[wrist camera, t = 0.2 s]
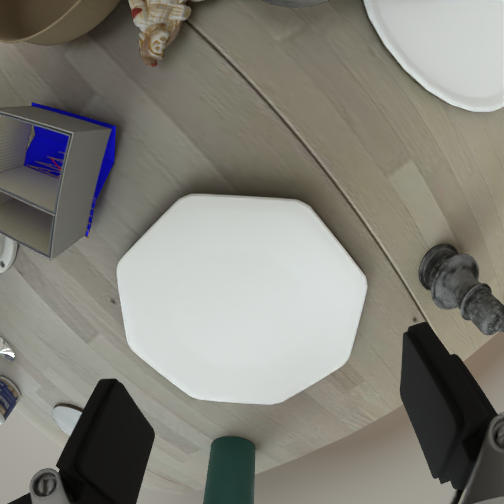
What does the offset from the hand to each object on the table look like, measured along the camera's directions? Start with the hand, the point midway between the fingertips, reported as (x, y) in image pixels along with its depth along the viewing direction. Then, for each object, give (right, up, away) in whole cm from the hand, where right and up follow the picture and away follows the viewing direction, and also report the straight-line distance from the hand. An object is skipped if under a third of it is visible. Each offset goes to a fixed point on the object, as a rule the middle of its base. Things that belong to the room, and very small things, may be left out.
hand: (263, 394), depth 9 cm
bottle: (-3, -24, +31) cm, 39 cm away
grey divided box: (-18, +10, +9) cm, 23 cm away
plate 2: (+19, +28, +10) cm, 35 cm away
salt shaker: (+19, +3, +20) cm, 28 cm away
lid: (-28, -24, +31) cm, 49 cm away
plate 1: (-2, -1, +22) cm, 22 cm away
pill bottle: (-42, -19, +30) cm, 55 cm away
